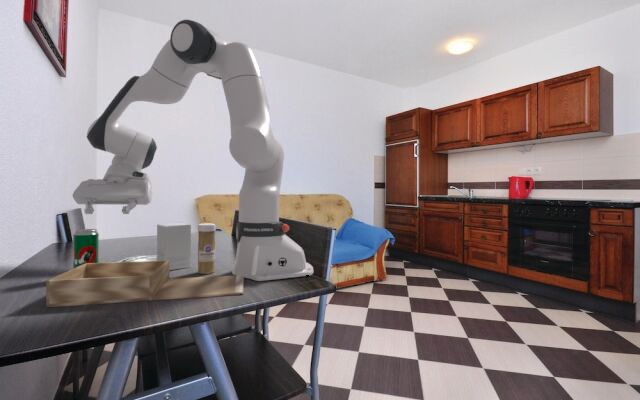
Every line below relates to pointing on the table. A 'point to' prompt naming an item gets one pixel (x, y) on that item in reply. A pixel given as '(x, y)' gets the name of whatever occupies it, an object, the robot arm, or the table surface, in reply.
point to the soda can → (85, 247)
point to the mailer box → (132, 284)
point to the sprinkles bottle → (206, 248)
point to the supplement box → (174, 244)
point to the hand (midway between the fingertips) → (106, 212)
